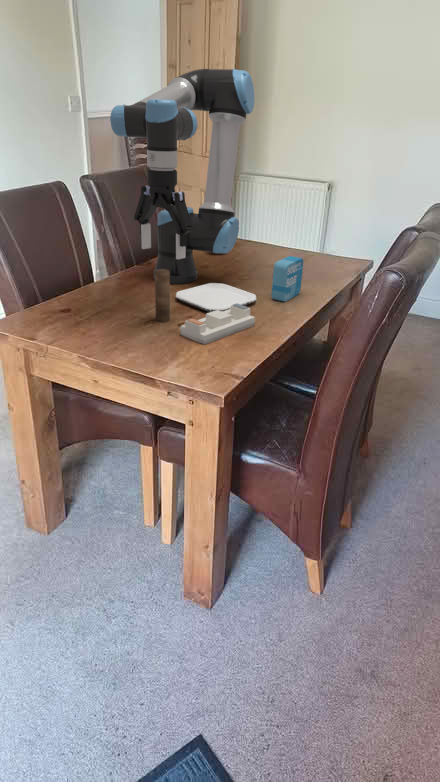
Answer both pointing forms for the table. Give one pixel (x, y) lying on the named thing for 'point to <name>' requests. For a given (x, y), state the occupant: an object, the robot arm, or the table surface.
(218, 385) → the table surface
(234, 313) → the socket block
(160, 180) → the robot arm
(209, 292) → the plate
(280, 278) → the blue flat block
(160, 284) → the dowel
